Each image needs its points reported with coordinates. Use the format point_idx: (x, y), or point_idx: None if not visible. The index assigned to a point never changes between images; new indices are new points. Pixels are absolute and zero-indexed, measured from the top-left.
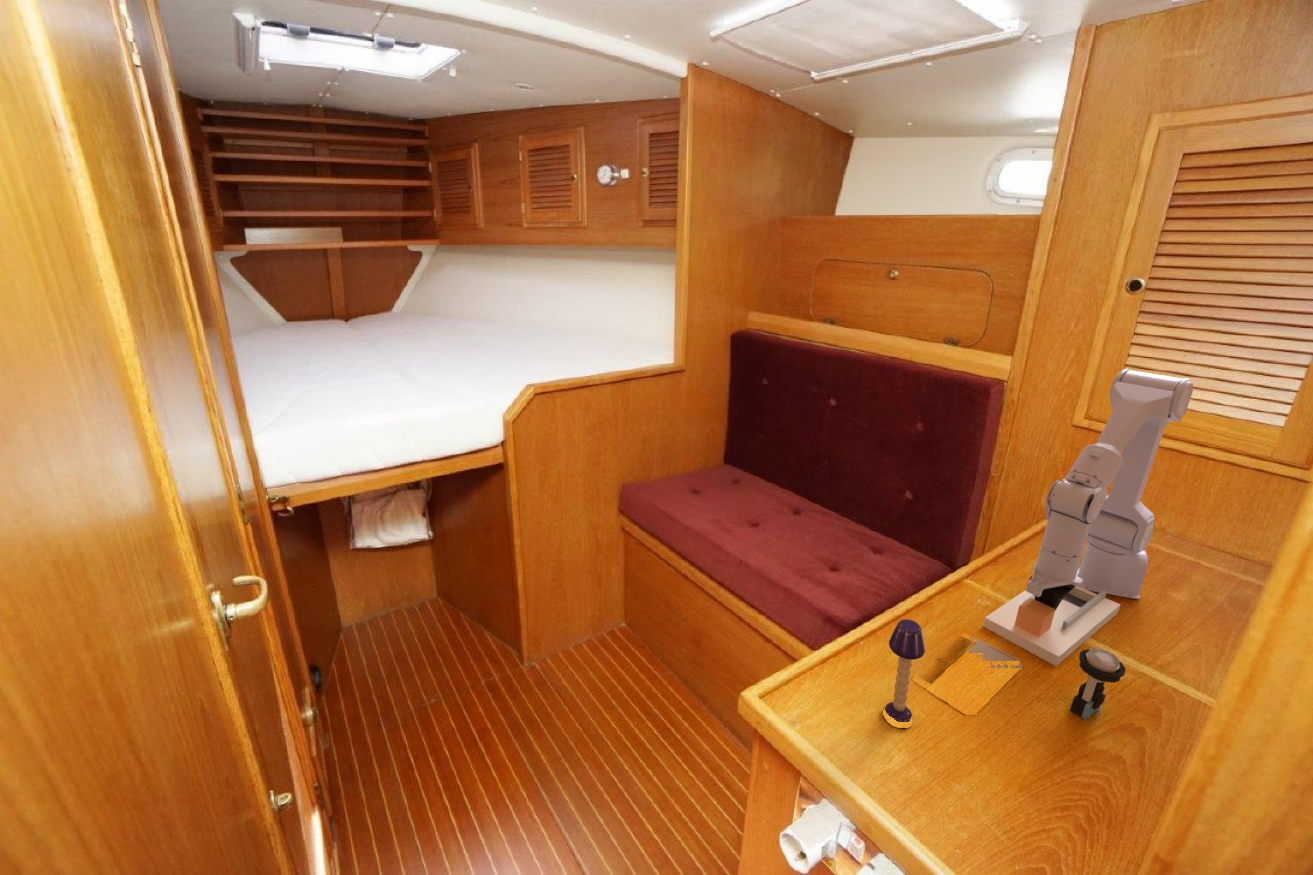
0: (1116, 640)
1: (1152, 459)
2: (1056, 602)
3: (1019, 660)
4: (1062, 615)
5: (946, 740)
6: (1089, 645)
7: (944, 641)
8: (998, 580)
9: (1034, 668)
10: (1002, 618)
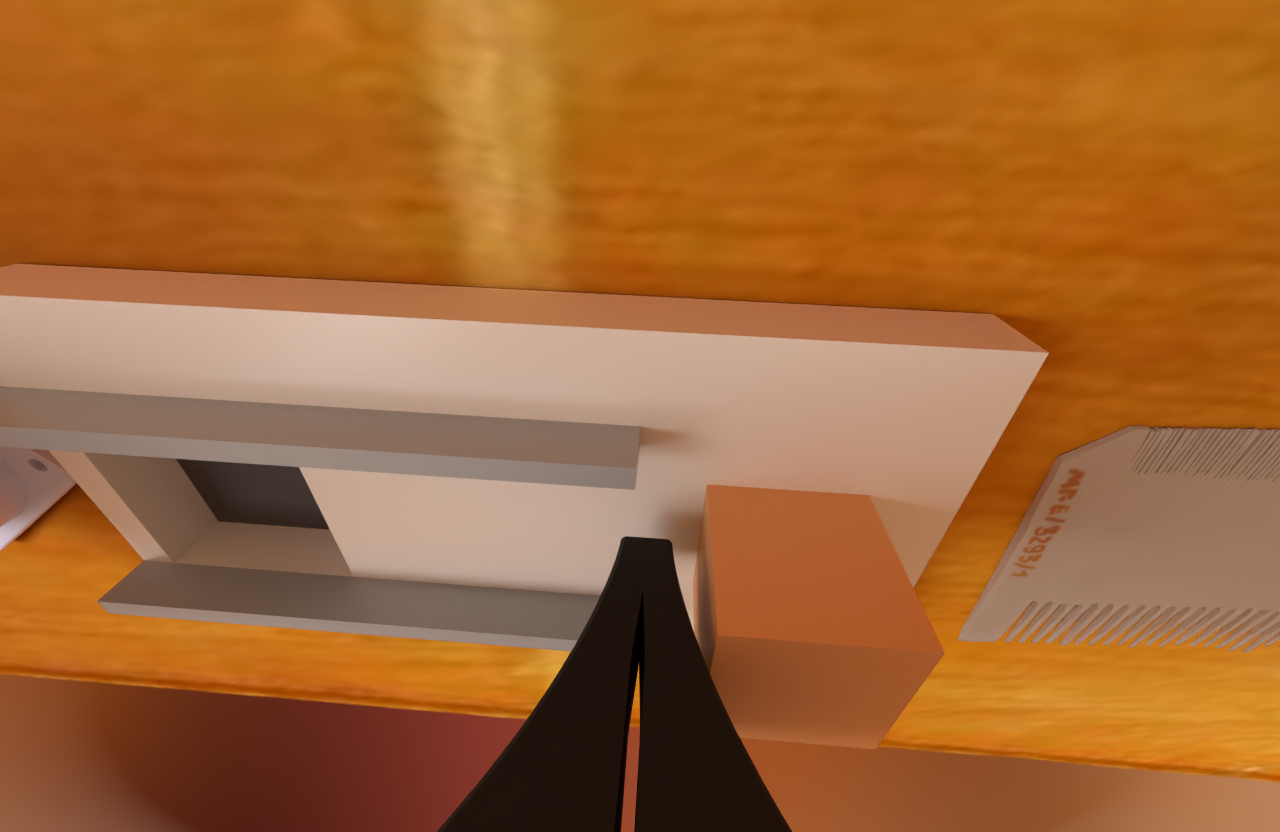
0: (306, 142)
1: None
2: (729, 722)
3: (1069, 459)
4: (492, 482)
5: None
6: (559, 254)
7: (1080, 658)
8: (447, 661)
9: (1097, 386)
10: None
